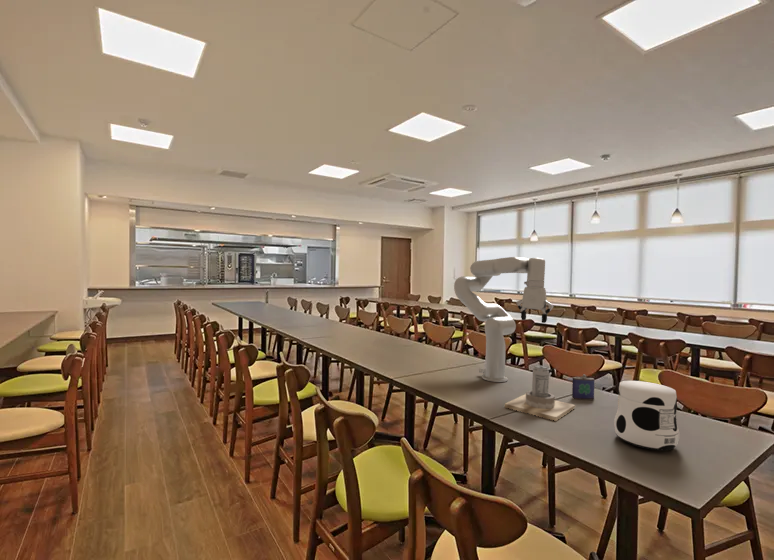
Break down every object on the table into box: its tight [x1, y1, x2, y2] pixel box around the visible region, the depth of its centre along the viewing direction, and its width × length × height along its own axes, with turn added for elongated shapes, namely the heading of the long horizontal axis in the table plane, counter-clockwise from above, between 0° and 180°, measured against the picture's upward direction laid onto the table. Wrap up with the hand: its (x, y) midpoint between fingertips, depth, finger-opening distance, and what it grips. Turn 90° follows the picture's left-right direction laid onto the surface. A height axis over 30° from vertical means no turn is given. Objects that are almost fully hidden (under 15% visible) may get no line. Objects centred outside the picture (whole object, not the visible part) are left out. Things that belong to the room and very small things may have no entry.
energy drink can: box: [531, 364, 550, 398], centre depth 156 cm, size 6×6×15 cm
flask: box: [571, 373, 595, 400], centre depth 170 cm, size 9×3×11 cm, turn 87°
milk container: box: [613, 380, 680, 452], centre depth 125 cm, size 17×17×18 cm
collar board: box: [504, 390, 576, 422], centre depth 156 cm, size 20×20×6 cm
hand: (533, 321), depth 183 cm, fingers open, 9 cm apart
